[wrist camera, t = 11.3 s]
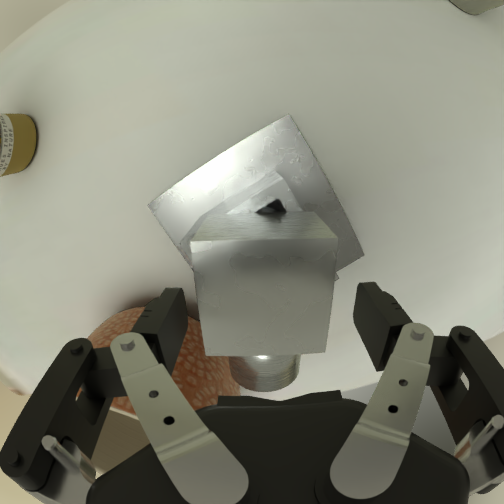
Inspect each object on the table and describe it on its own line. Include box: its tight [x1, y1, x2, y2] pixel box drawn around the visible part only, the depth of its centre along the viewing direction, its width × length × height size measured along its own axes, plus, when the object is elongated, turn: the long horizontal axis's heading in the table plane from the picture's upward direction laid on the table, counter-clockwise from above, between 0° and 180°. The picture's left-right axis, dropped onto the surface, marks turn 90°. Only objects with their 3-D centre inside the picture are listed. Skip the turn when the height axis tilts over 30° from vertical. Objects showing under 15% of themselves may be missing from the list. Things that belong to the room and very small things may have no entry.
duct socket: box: [147, 114, 364, 281], centre depth 21 cm, size 14×14×8 cm
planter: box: [76, 307, 240, 475], centre depth 22 cm, size 17×17×15 cm
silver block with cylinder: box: [190, 206, 338, 392], centre depth 18 cm, size 9×6×11 cm, turn 2°
